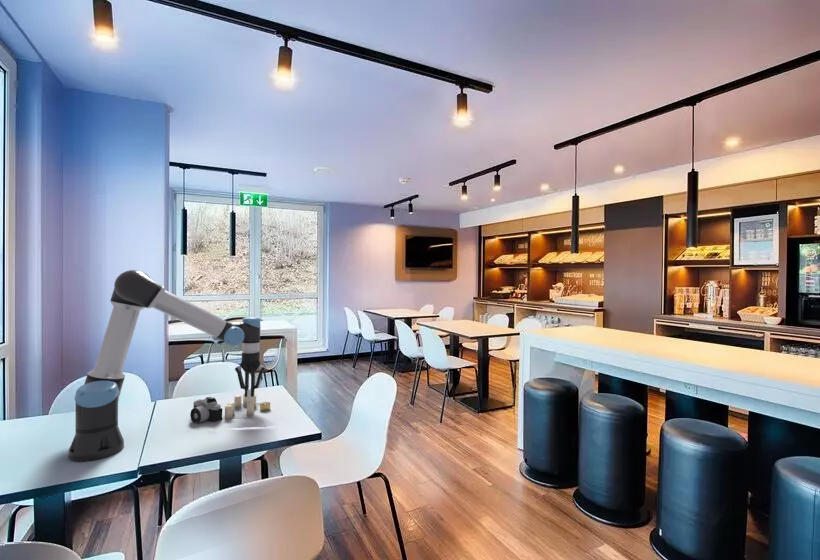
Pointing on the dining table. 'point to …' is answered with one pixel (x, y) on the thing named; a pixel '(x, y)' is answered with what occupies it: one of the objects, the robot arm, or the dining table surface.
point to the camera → (206, 411)
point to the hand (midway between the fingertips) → (249, 403)
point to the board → (240, 408)
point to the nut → (265, 406)
